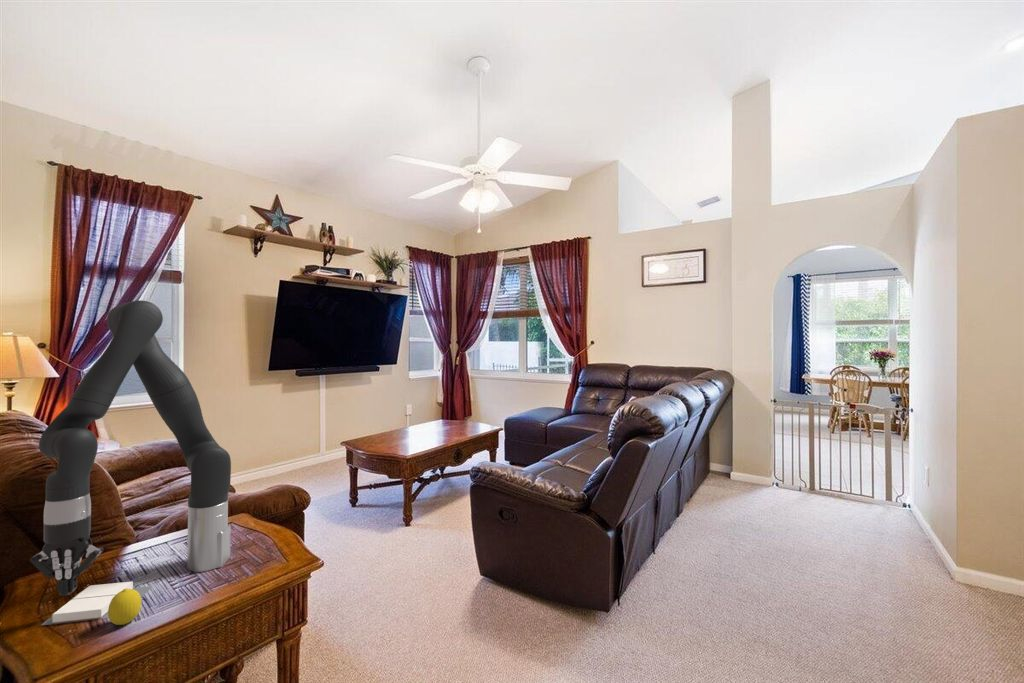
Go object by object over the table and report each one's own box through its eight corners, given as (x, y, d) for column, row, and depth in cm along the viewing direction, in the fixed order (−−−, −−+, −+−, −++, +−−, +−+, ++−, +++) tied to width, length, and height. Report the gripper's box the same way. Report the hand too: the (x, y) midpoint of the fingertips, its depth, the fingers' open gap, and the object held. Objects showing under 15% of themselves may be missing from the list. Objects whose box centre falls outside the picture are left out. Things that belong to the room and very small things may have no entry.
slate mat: (153, 588, 112) (153, 585, 112) (121, 618, 100) (121, 616, 100) (82, 595, 108) (82, 592, 108) (40, 628, 96) (40, 625, 96)
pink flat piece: (71, 608, 102) (117, 603, 104) (52, 624, 97) (101, 618, 99) (71, 599, 102) (117, 595, 104) (52, 614, 97) (101, 609, 99)
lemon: (121, 618, 100) (121, 582, 100) (147, 617, 100) (147, 581, 100) (100, 634, 94) (101, 596, 94) (128, 633, 95) (128, 595, 95)
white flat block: (89, 594, 108) (132, 589, 110) (72, 607, 102) (118, 602, 105) (89, 585, 108) (132, 581, 110) (72, 598, 102) (118, 594, 105)
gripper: (113, 508, 105) (112, 581, 105) (45, 512, 102) (44, 587, 102) (91, 520, 97) (90, 599, 97) (17, 525, 94) (16, 607, 94)
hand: (67, 593), depth 100 cm, fingers closed
